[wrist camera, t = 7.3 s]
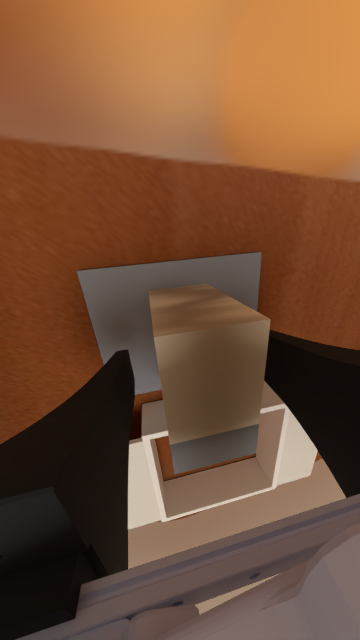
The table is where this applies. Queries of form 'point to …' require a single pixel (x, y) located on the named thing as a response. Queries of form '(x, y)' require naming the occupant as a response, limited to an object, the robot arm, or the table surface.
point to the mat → (134, 305)
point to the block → (209, 373)
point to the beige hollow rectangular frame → (221, 482)
